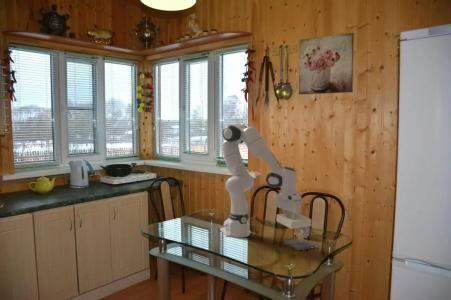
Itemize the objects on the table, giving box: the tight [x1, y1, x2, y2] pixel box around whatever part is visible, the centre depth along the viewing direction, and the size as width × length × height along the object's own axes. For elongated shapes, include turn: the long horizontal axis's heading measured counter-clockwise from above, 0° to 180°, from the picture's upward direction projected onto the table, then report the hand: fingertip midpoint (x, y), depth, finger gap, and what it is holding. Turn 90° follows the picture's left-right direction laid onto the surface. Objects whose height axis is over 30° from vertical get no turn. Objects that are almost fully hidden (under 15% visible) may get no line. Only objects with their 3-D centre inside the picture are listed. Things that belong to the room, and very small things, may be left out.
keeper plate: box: [283, 232, 319, 251], centre depth 206 cm, size 14×14×8 cm
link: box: [275, 212, 312, 230], centre depth 198 cm, size 14×14×4 cm
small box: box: [293, 226, 311, 237], centre depth 223 cm, size 8×6×10 cm
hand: (287, 217), depth 204 cm, fingers closed on link, 2 cm apart
